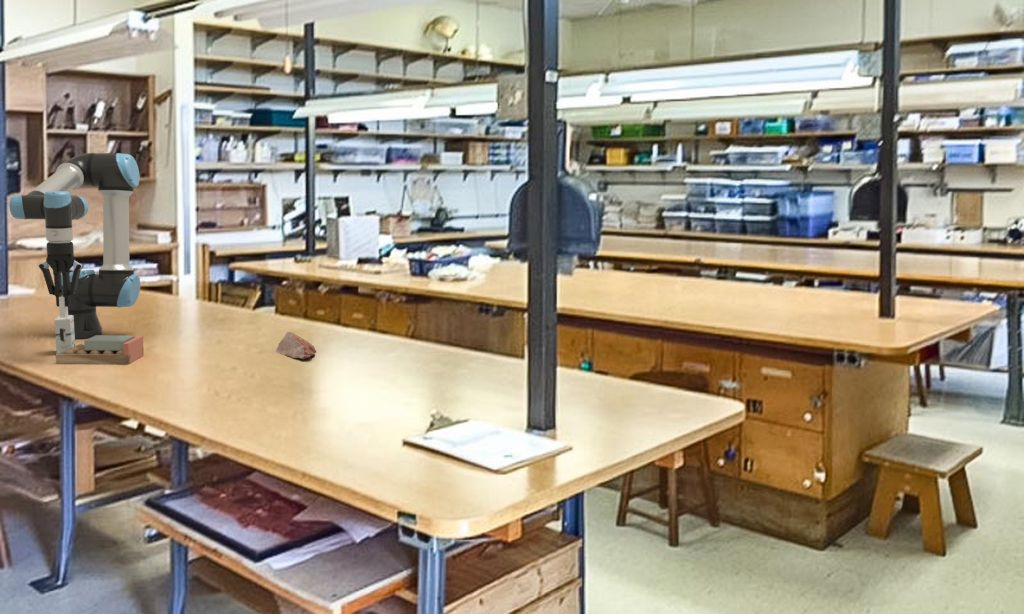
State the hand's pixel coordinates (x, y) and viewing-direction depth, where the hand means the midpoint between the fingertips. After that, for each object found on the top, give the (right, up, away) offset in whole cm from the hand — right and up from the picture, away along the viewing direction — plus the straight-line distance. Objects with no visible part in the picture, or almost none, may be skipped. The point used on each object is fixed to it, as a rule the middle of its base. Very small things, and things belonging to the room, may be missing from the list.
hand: (64, 316), depth 311 cm
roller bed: (+11, -13, +2) cm, 17 cm away
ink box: (-5, -12, +12) cm, 18 cm away
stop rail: (+21, -14, +2) cm, 25 cm away
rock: (+71, -13, +16) cm, 74 cm away
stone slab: (+14, -10, +1) cm, 17 cm away
